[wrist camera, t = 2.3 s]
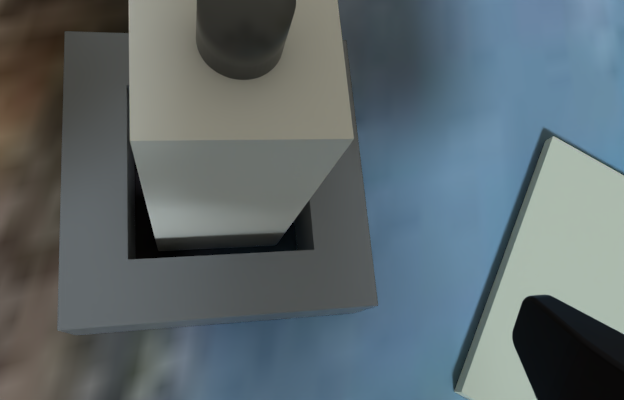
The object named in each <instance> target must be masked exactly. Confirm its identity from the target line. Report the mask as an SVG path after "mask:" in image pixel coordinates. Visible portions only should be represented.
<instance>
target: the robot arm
mask: <svg viewBox="0 0 624 400" xmlns="http://www.w3.org/2000/svg"><path fill="white" fill-rule="evenodd" d="M512 340H513V344H514V347H515V349H516V352H517V354H518V356H519V359H520V361H521V363H522V366H523V368H524V370H525V373H526V375H527V377H528V380H529V382H530V384H531V387H532V389H533V391H534V394H535V396H536V398H537V400H624V334H623V333H621V332H619V331H617V330H615V329H613V328H611V327H609V326H608V325H606V324H604V323H602V322H600V321H598V320H596V319H594V318H592V317H591V316H589V315H587V314H585V313H583V312H581V311H579V310H577V309H575V308H574V307H572V306H570V305H568V304H566V303H564V302H562V301H560V300H558V299H557V298H555V297H553V296H551V295H545V294H544V295H532V296H527V297H526V298H525V299H524V300H523V301H522V304H521V307H520V310H519V313H518V316H517V319H516V322H515V325H514V328H513V332H512Z"/></svg>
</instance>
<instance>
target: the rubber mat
mask: <svg viewBox="0 0 624 400" xmlns="http://www.w3.org/2000/svg"><path fill="white" fill-rule="evenodd" d="M544 294H545V295H551V296H553V297H555V298H557V299H558V300H560V301H562V302H564V303H566V304H568V305H570V306H572V307H574V308H575V309H577V310H579V311H581V312H583V313H585V314H587V315H589V316H591V317H592V318H594V319H596V320H598V321H600V322H602V323H604V324H606V325H608V326H609V327H611V328H613V329H615V330H617V331H619V332H621V333H623V334H624V175H622V174H620V173H618V172H617V171H615V170H613V169H611V168H610V167H608V166H606V165H604V164H602V163H601V162H599V161H597V160H595V159H593V158H592V157H590V156H588V155H586V154H585V153H583V152H581V151H579V150H577V149H576V148H574V147H572V146H570V145H568V144H567V143H565V142H563V141H561V140H560V139H558V138H556V137H554V136H552V137H551V138H549V139H548V140H546V141H545V143H544V146H543V148H542V151H541V154H540V157H539V159H538V162H537V165H536V168H535V171H534V173H533V176H532V179H531V182H530V184H529V187H528V190H527V193H526V195H525V198H524V201H523V204H522V206H521V209H520V212H519V215H518V217H517V220H516V223H515V226H514V228H513V231H512V234H511V237H510V239H509V242H508V245H507V248H506V250H505V253H504V256H503V259H502V261H501V264H500V267H499V270H498V272H497V275H496V278H495V281H494V283H493V286H492V289H491V292H490V294H489V297H488V300H487V303H486V305H485V308H484V311H483V314H482V316H481V319H480V322H479V325H478V327H477V330H476V333H475V336H474V338H473V341H472V344H471V347H470V349H469V352H468V355H467V358H466V360H465V363H464V366H463V369H462V371H461V374H460V377H459V380H458V382H457V385H456V388H455V391H454V392H456V393H458V394H459V395H461V396H463V397H465V398H467V399H469V400H537V398H536V396H535V394H534V391H533V389H532V387H531V384H530V382H529V380H528V377H527V375H526V373H525V370H524V368H523V366H522V363H521V361H520V359H519V356H518V354H517V352H516V349H515V347H514V344H513V340H512V332H513V328H514V325H515V322H516V319H517V316H518V313H519V310H520V307H521V304H522V301H523V300H524V299H525V298H526V297H527V296H532V295H544Z"/></svg>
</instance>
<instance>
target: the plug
mask: <svg viewBox="0 0 624 400" xmlns="http://www.w3.org/2000/svg"><path fill="white" fill-rule="evenodd" d="M129 109H130V144H131V148H132V152H133V155H134V159H135V163H136V167H137V171H138V175H139V179H140V183H141V186H142V190H143V194H144V198H145V202H146V206H147V210H148V214H149V217H150V221H151V225H152V229H153V233H154V237H155V241H156V245H157V248H158V251H176V250H195V249H215V248H235V247H255V246H274V245H277V243H278V242H279V241H280V239H281V238H282V236H283V235H284V234H285V232H286V231H287V230H288V228H289V227H290V226H291V224H292V223H293V221H294V220H295V219H296V217H297V216H298V215H299V213H300V212H301V211H302V209H303V208H304V206H305V205H306V204H307V202H308V201H309V200H310V198H311V197H312V196H313V194H314V193H315V191H316V190H317V189H318V187H319V186H320V185H321V183H322V182H323V181H324V179H325V178H326V176H327V175H328V174H329V172H330V171H331V170H332V168H333V167H334V166H335V164H336V163H337V161H338V160H339V159H340V157H341V156H342V155H343V153H344V152H345V151H346V149H347V148H348V146H349V145H350V144H351V142H352V141H353V140H354V135H353V126H352V118H351V110H350V101H349V93H348V84H347V76H346V67H345V59H344V50H343V42H342V33H341V25H340V16H339V8H338V0H129Z"/></svg>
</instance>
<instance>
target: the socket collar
mask: <svg viewBox="0 0 624 400" xmlns="http://www.w3.org/2000/svg"><path fill="white" fill-rule="evenodd" d="M342 42H343V50H344V59H345V67H346V76H347V84H348V93H349V101H350V110H351V118H352V126H353V135H354V140H353V141H352V142H351V144H350V145H349V146H348V148H347V149H346V151H345V152H344V153H343V155H342V156H341V157H340V159H339V160H338V161H337V163H336V164H335V166H334V167H333V168H332V170H331V171H330V172H329V174H328V175H327V176H326V178H325V179H324V181H323V182H322V183H321V185H320V186H319V187H318V189H317V190H316V191H315V193H314V194H313V196H312V197H311V198H310V200H309V201H308V202H307V204H306V205H305V206H304V208H303V209H302V211H301V212H300V213H299V215H298V216H297V217H296V219H295V220H294V222H295V234H296V246H297V251H281V252H262V253H243V254H224V255H206V256H187V257H168V258H149V259H136V243H135V159H134V155H133V152H132V148H131V144H130V109H129V33H105V32H74V31H65V41H64V82H63V123H62V164H61V205H60V246H59V287H58V327H57V330H58V331H62V332H66V333H69V334H73V335H86V334H98V333H111V332H124V331H136V330H149V329H161V328H174V327H186V326H199V325H211V324H224V323H236V322H249V321H261V320H274V319H287V318H299V317H312V316H324V315H337V314H349V313H356V312H359V311H362V310H365V309H368V308H371V307H375V306H378V301H377V292H376V284H375V276H374V267H373V259H372V251H371V242H370V234H369V226H368V217H367V209H366V201H365V192H364V184H363V176H362V167H361V159H360V151H359V142H358V134H357V126H356V117H355V109H354V101H353V92H352V84H351V76H350V67H349V59H348V51H347V42H346V40H342Z"/></svg>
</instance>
